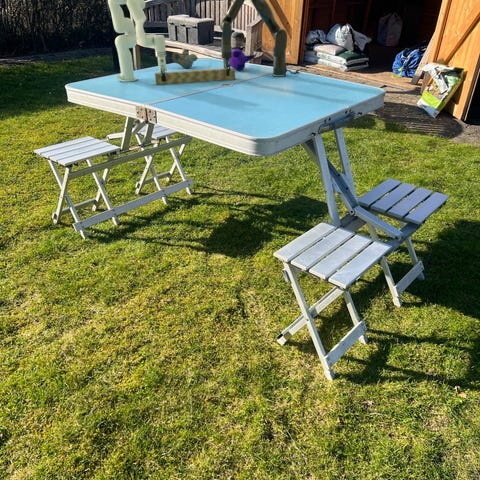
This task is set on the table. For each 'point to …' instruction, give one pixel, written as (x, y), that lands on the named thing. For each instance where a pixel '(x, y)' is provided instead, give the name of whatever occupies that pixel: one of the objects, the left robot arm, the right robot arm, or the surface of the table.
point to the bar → (195, 76)
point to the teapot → (184, 59)
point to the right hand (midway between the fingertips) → (227, 75)
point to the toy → (239, 59)
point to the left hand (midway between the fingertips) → (163, 80)
